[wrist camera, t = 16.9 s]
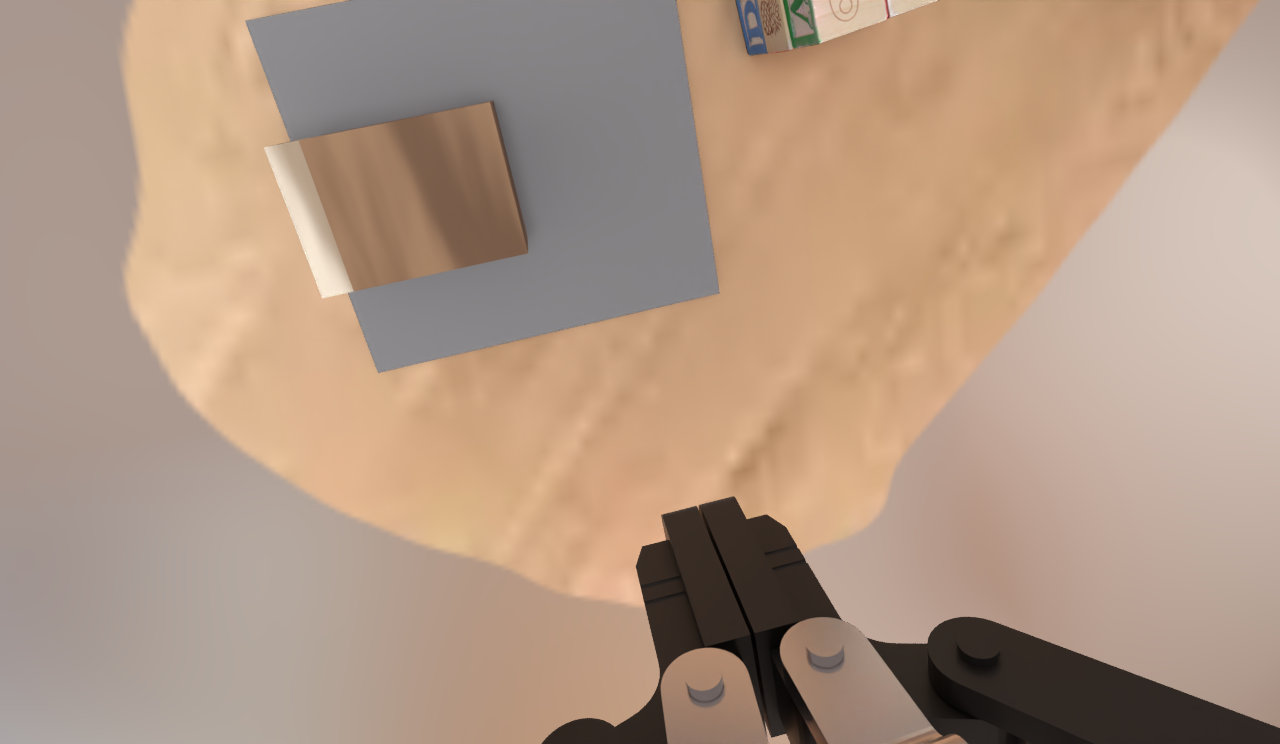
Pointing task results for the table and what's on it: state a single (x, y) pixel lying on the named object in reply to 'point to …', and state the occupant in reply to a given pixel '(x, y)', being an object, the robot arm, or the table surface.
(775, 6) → the stack of blocks
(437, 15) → the mat
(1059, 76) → the table surface
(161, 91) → the table surface
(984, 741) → the robot arm
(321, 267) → the walnut block
